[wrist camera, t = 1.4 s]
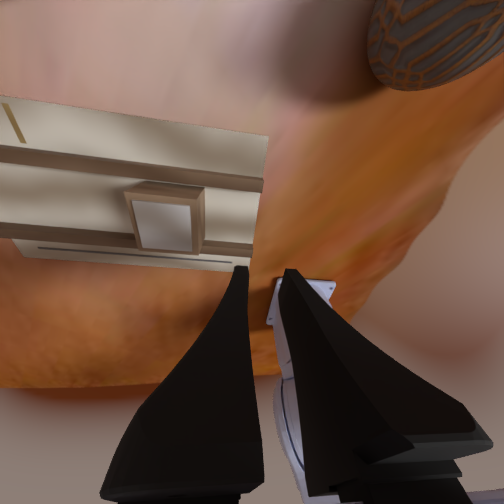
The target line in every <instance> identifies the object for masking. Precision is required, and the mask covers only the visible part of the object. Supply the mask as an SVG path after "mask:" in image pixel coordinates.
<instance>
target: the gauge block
mask: <svg viewBox="0 0 504 504" xmlns="http://www.w3.org/2000/svg"><path fill="white" fill-rule="evenodd" d="M124 195H125V199H126V203H127V207H128V211H129V215H130V219H131V223H132V227H133V231H134V234H135V238H136V242H137V246H138V250H139V251H146V252H159V253H171V254H184V255H197V256H199V253H200V250H201V248H202V245H203V242H204V239H205V187H198V186H189V185H181V184H172V183H164V182H155V181H147V180H145V181H143V182H142V183H140V184H138V185H136V186H134V187H132V188H130V189H128V190H126V191H124Z"/></svg>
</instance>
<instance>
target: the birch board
mask: <svg viewBox="0 0 504 504" xmlns="http://www.w3.org/2000/svg"><path fill="white" fill-rule="evenodd" d="M268 138H269V136H263V135H256V134H250V133H243V132H237V131H230V130H224V129H217V128H211V127H204V126H197V125H191V124H184V123H178V122H171V121H165V120H158V119H152V118H145V117H138V116H132V115H125V114H119V113H112V112H106V111H99V110H92V109H86V108H79V107H73V106H66V105H60V104H53V103H47V102H40V101H33V100H27V99H20V98H14V97H7V96H1V95H0V238H8V239H12V240H13V242H14V243H15V245H16V246H17V248H18V249H19V251H20V252H21V254H22V255H23V257H28V258H42V259H57V260H71V261H85V262H99V263H113V264H127V265H141V266H156V267H170V268H184V269H198V270H212V271H226V272H233V271H234V266H236V265H241V266H248V270H249V264H250V258H252V254H253V238H254V231H255V224H256V218H257V211H258V204H259V198H260V193H262V190H263V183H264V180H263V171H264V165H265V158H266V151H267V145H268ZM145 180H147V181H155V182H164V183H172V184H181V185H189V186H198V187H205V239H204V242H203V245H202V248H201V250H200V253H199V256H197V255H184V254H171V253H159V252H146V251H139V250H138V246H137V242H136V238H135V234H134V231H133V227H132V223H131V219H130V215H129V211H128V207H127V203H126V199H125V195H124V191H126V190H128V189H130V188H132V187H134V186H136V185H138V184H140V183H142V182H143V181H145Z"/></svg>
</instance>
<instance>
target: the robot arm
mask: <svg viewBox="0 0 504 504" xmlns="http://www.w3.org/2000/svg"><path fill="white" fill-rule="evenodd" d="M279 284H280V285H279ZM248 287H249V270H248V266H241V265H236V266H234V271H233V275H232V278H231V281H230V283H229V286H228V288H227V290H226V292H225V294H224V296H223V298H222V300H221V302H220V304H219V306H218V308H217V309H216V311H215V313H214V314H213V316H212V318H211V319H210V321H209V322H208V324H207V325H206V327H205V328H204V330H203V331H202V333H201V334H200V335H199V337H198V338H197V340H196V341H195V342H194V344H193V345H192V346H191V348H190V349H189V350H188V351H187V353H186V354H185V355H184V356H183V358H182V359H181V360H180V361H179V363H178V364H177V365H176V366H175V368H174V369H173V370H172V371H171V372H170V374H169V375H168V376H167V377H166V378H165V379H164V380H163V382H162V383H161V384H160V385H159V386H158V387H157V388H156V389H155V390H154V392H153V393H152V394H151V395H150V396H149V397H148V398H147V399H146V400H145V402H144V403H143V404H142V405H141V406H140V407H139V409H138V410H137V412H136V413H135V415H134V417H133V419H132V420H131V422H130V424H129V426H128V427H127V429H126V431H125V433H124V435H123V437H122V439H121V441H120V443H119V445H118V447H117V449H116V452H115V454H114V456H113V459H112V461H111V464H110V466H109V469H108V472H107V474H106V477H105V480H104V482H103V485H102V487H101V490H100V497H101V498H102V499H104V500H109V501H113V502H118V504H239V500H240V498H241V496H240V495H241V494H243V493H250V492H251V491H252V490H254V489H255V488H257V487H258V486H259V485H261V484H262V483H264V463H263V448H262V438H261V431H260V424H259V417H258V409H257V401H256V394H255V386H254V378H253V369H252V360H251V350H250V339H249V328H248V315H247V305H248ZM330 287H331V288H330ZM335 287H336V283H335V282H334V281H323V280H308V279H305V278H304V277H303V276H302V275H301V274H300V273H299V272H298V271H297V270H296V269H285V272H284V275H283V278H279V279H278V280H277V283H276V286H275V290H274V294H273V297H272V301H271V305H270V308H269V312H268V316H267V319H266V324H268V325H273V331H274V337H275V344H276V350H277V356H278V362H279V365H280V368H281V370H282V376H283V377H281V378H279V379H278V380H277V382H276V385H275V388H274V392H273V411H274V418H275V424H276V429H277V433H278V437H279V440H280V443H281V446H282V449H283V451H284V454H285V455H286V457H287V459H288V461H289V463H290V466H291V469H292V472H293V474H294V477H295V481H296V484H297V488H298V490H299V491H300V493H301V497H302V500H303V503H304V504H504V488H503V489H496V490H487V491H475V492H465V490H464V488H463V487H462V485H461V484H460V482H459V481H458V479H457V477H462V472H461V471H460V469H459V468H458V466H457V465H456V463H455V461H454V460H453V459H457V458H461V457H465V456H469V455H472V454H476V453H479V452H483V451H486V450H489V449H491V448H492V447H493V442H492V440H491V439H490V438H489V437H488V435H487V434H486V433H485V431H484V430H483V429H482V428H481V426H480V425H479V424H478V423H477V421H476V420H475V419H474V418H473V416H472V415H471V414H470V413H469V412H468V410H467V409H466V407H465V406H464V405H463V404H462V403H460V402H459V401H457V400H456V399H454V398H452V397H451V396H449V395H448V394H446V393H444V392H443V391H441V390H439V389H438V388H436V387H435V386H433V385H431V384H430V383H428V382H427V381H425V380H423V379H422V378H420V377H419V376H417V375H416V374H414V373H413V372H411V371H410V370H409V369H407V368H405V367H404V366H403V365H401V364H400V363H398V362H397V361H395V360H394V359H393V358H391V357H390V356H388V355H387V354H386V353H384V352H383V351H382V350H380V349H379V348H378V347H377V346H375V345H374V344H372V343H371V342H370V341H369V340H367V339H366V338H365V337H364V336H362V335H361V334H360V333H359V332H358V331H356V330H355V329H354V328H353V327H352V326H351V325H350V324H348V323H347V322H346V321H345V320H344V319H343V318H342V317H341V316H340V315H339V314H337V313H336V312H335V311H334V310H333V308H332V306H331V304H330V302H329V298H330V296H331V294H332V292H333V290H334V288H335Z"/></svg>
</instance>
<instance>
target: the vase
mask: <svg viewBox="0 0 504 504" xmlns="http://www.w3.org/2000/svg"><path fill="white" fill-rule="evenodd" d="M502 52H504V0H376V3H375V6H374V9H373V12H372V15H371V19H370V23H369V28H368V35H367V55H368V60H369V64H370V67H371V70H372V72H373V73H374V75H375V76H376V78H377V79H378V80H379V81H380V82H381V83H383V84H384V85H386V86H388V87H390V88H392V89H396V90H401V91H418V90H425V89H430V88H434V87H437V86H441V85H444V84H447V83H449V82H452V81H454V80H456V79H459V78H461V77H463V76H464V75H466V74H468V73H470V72H472V71H474V70H476V69H477V68H479V67H481V66H483V65H484V64H486V63H487V62H489V61H491V60H492V59H494V58H495V57H497V56H498V55H500V54H501V53H502Z"/></svg>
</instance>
